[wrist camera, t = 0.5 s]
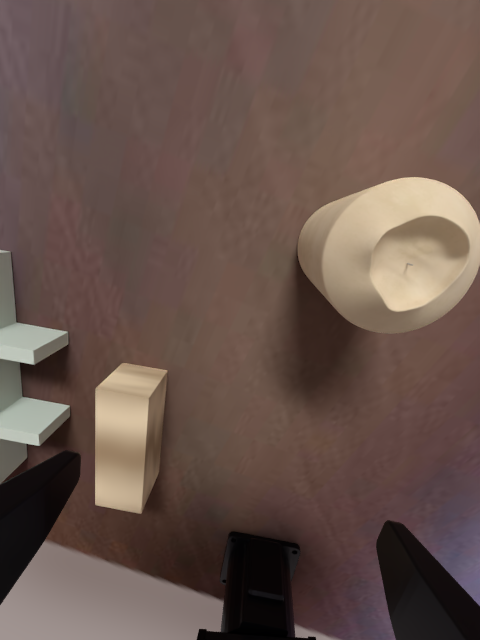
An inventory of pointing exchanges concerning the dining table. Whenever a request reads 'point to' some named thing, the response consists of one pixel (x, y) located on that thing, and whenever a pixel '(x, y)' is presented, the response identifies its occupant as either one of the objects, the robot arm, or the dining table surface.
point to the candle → (393, 253)
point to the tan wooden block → (128, 436)
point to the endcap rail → (5, 379)
